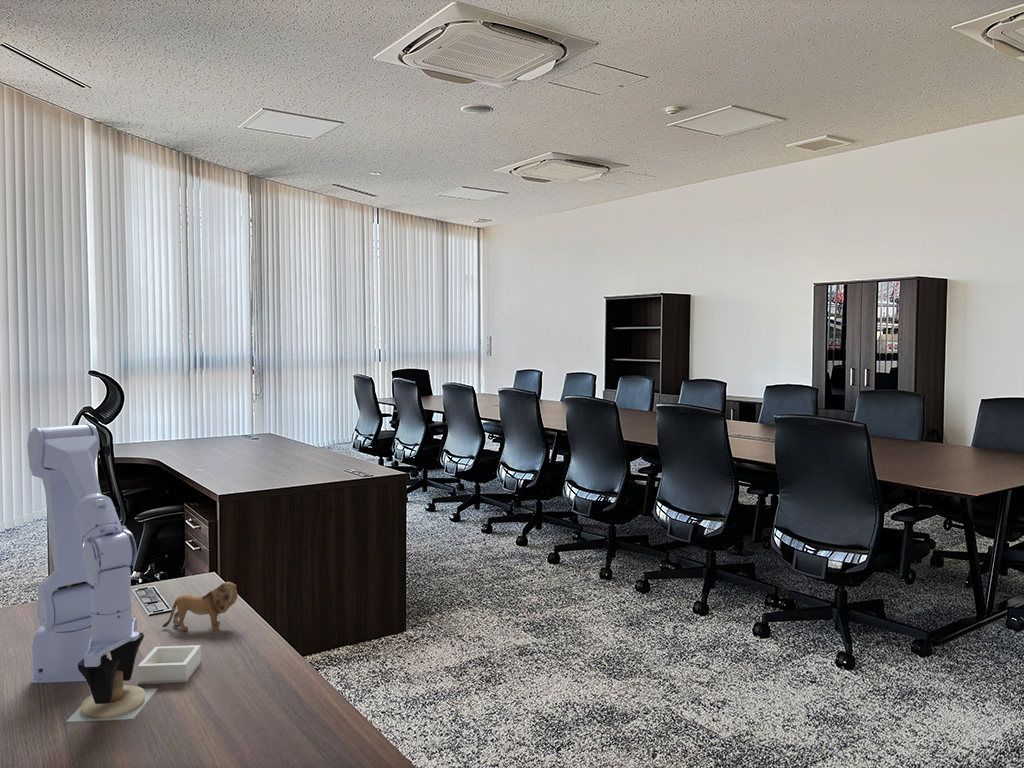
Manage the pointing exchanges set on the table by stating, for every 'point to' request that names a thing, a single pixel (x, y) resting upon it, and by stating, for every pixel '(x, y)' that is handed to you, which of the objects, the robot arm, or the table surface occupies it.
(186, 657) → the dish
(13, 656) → the table surface
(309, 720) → the table surface
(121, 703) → the lid
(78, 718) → the mat
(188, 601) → the lion figurine
